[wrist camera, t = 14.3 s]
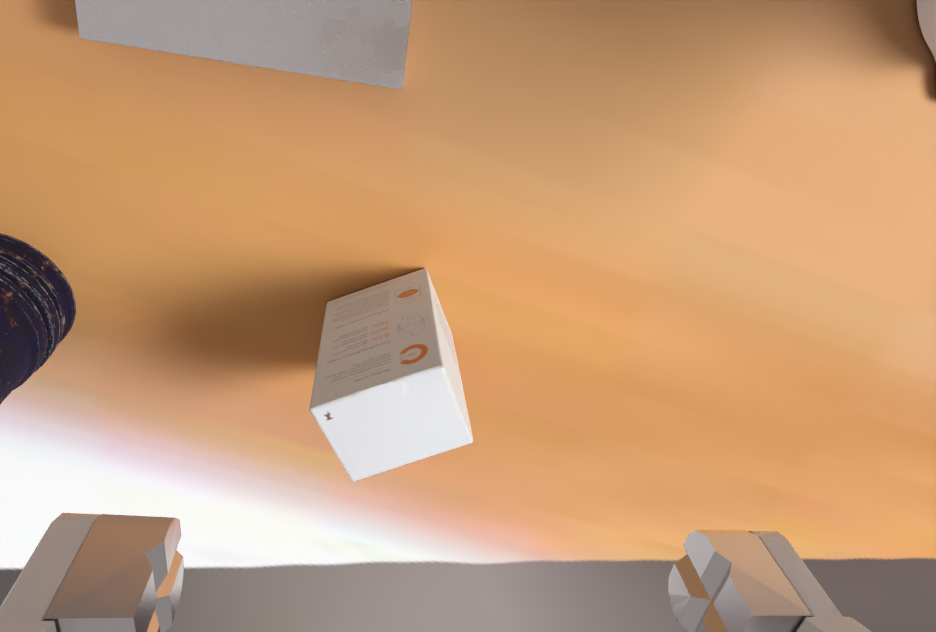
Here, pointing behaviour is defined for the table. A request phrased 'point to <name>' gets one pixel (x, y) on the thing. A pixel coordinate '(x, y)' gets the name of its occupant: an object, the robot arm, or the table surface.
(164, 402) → the table surface
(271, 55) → the chassis
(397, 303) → the small box
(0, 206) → the table surface
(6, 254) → the dark ribbed barrel
